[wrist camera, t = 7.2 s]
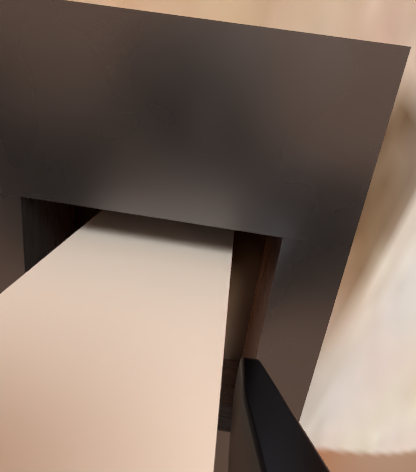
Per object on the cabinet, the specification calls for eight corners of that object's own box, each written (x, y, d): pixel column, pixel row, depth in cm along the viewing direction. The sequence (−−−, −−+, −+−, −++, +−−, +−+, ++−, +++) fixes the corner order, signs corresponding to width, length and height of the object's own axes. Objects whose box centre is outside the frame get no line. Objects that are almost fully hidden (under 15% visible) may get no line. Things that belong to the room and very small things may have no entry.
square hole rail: (262, 449, 15) (265, 533, 12) (39, 409, 15) (-8, 482, 12) (363, 59, 10) (411, 47, 7) (20, 11, 10) (-68, -18, 7)
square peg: (217, 331, 13) (166, 752, 5) (105, 312, 13) (-136, 689, 5) (234, 224, 12) (205, 560, 3) (108, 204, 12) (-223, 478, 3)
